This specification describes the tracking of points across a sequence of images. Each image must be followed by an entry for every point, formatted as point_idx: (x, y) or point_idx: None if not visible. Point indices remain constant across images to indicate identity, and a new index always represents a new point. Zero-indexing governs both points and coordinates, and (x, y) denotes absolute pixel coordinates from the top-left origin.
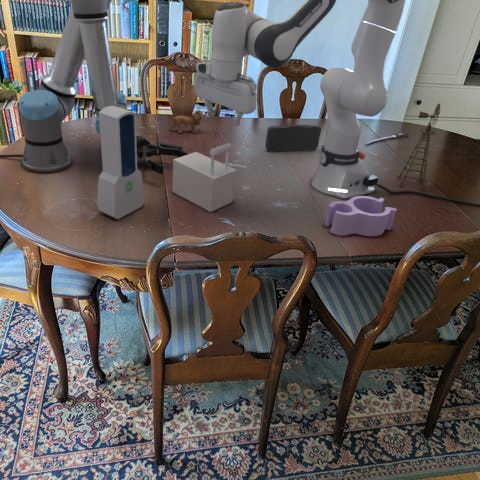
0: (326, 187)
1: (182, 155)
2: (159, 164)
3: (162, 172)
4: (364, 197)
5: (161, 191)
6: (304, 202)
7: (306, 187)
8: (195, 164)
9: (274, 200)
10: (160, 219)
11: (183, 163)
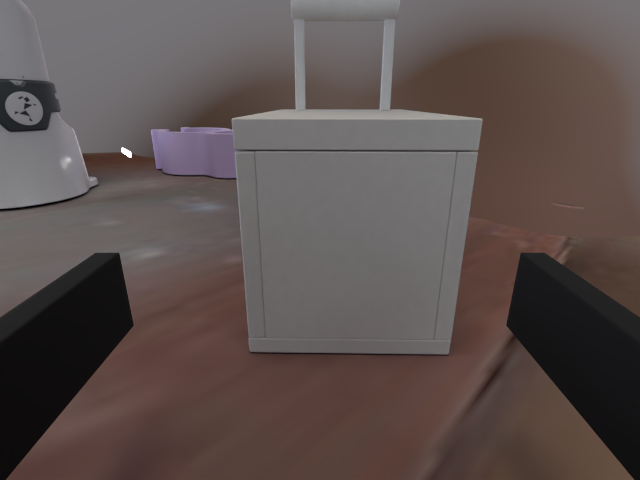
0: (77, 178)
1: (39, 367)
2: (549, 273)
3: (512, 313)
4: (165, 131)
5: (520, 395)
6: (160, 197)
7: (56, 208)
8: (385, 113)
9: (191, 213)
10: (596, 271)
11: (441, 115)
